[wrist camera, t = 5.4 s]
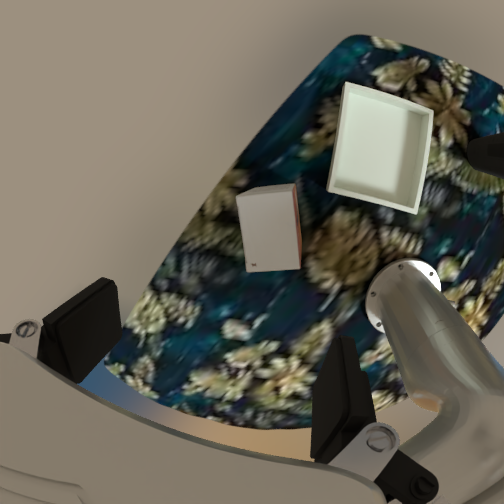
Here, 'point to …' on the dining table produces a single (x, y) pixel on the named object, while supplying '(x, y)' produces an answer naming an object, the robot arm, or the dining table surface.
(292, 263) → the small box
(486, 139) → the drinking cup
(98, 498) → the robot arm
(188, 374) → the dining table surface
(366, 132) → the tray
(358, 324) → the dining table surface
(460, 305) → the dining table surface
